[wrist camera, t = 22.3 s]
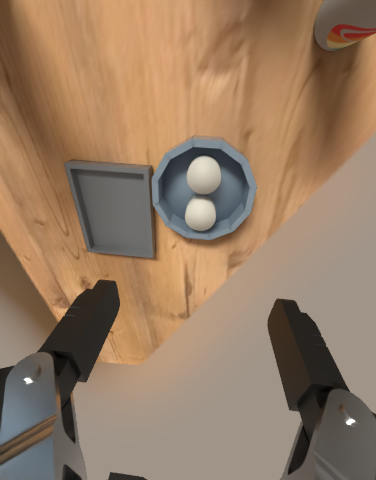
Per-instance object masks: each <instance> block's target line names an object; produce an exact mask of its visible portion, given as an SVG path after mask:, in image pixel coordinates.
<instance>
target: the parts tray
mask: <svg viewBox="0 0 376 480" xmlns="http://www.w3.org/2000/svg"><path fill="white" fill-rule="evenodd" d="M64 166H65V169H66V173H67V177H68V180H69V184H70V188H71V192H72V195H73V199H74V203H75V206H76V210H77V214H78V217H79V221H80V225H81V228H82V232H83V236H84V240H85V243H86V247H87V251H88V252H94V253H105V254H115V255H125V256H135V257H146V258H153V257H154V255H155V252H156V245H155V223H154V206H153V198H152V166H150V165H136V164H123V163H109V162H96V161H82V160H70V161H68V162H65V163H64Z"/></svg>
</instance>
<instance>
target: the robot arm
mask: <svg viewBox="0 0 376 480" xmlns="http://www.w3.org/2000/svg"><path fill="white" fill-rule="evenodd" d="M119 307H120V299H119V294H118V289H117V284H116V282H115V281H110V280H98V281H97V283H96V284H95V286H94V287H93V289H87V290H85V291H84V292H83V293H81V294H80V295H79V296H78V297H77V298H76V299H75V301H74V302H73V303H72V305H71V307H70V308H69V309H68V310H67V312H66V313H65V316H63V317H62V319H61V320H60V322H59V323H58V324H57V326H56V327H55V329H54V330H53V331H52V333H51V334H50V336H49V337H48V338H47V340H46V341H45V343H44V344H43V345H42V347H41V348H40V350H38V352H36V353H34V354H31V355H29V356H27V357H25V358H23V359H22V360H21V361H19V362H18V363H17V364H16V365H15V366H11V367H6V368H2V369H0V480H87V474H86V467H85V462H84V458H83V455H82V451H81V448H80V444H79V437H78V429H77V422H76V414H75V406H74V400H73V392H72V391H73V389H74V387H75V385H76V383H77V381H78V382H87V380H88V377H89V375H90V373H91V371H92V369H93V366H94V364H95V362H96V360H97V358H98V355H99V353H100V351H101V349H102V347H103V344H104V342H105V340H106V338H107V336H108V333H109V331H110V329H111V327H112V325H113V323H114V320H115V318H116V316H117V314H118V311H119ZM268 331H269V335H270V339H271V343H272V346H273V351H274V354H275V358H276V362H277V366H278V369H279V373H280V377H281V381H282V385H283V388H284V392H285V396H286V400H287V403H288V407H289V410H292V411H299V412H300V415H301V419H302V421H301V423H300V425H299V428H298V431H297V434H296V437H295V440H294V443H293V446H292V449H291V452H290V455H289V458H288V461H287V464H286V467H285V470H284V472H283V475H282V477H281V479H280V480H376V414H375V413H373V412H371V410H370V409H369V408H368V407H367V405H366V404H365V403H364V402H363V401H362V400H361V399H360V398H358V397H357V396H355V395H354V394H353V393H351V392H350V391H349V389H348V387H347V386H346V384H345V382H344V380H343V378H342V376H341V374H340V372H339V369H338V368H337V365H336V363H335V361H334V359H333V357H332V355H331V353H330V351H329V350H328V347H326V343H325V342H324V339H323V337H321V333H320V331H319V329H318V327H317V325H316V323H315V322H314V321H313V320H312V319H311V318H310V317H309V316H308V314H307V313H301V312H300V310H299V307H298V305H297V303H296V302H295V301H294V300H287V299H277V300H276V301H275V303H274V306H273V308H272V310H271V313H270V315H269V318H268ZM108 480H147V479H145V478H143V477H139V476H132V475H126V474H119V473H112V472H110V475H109V479H108Z"/></svg>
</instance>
